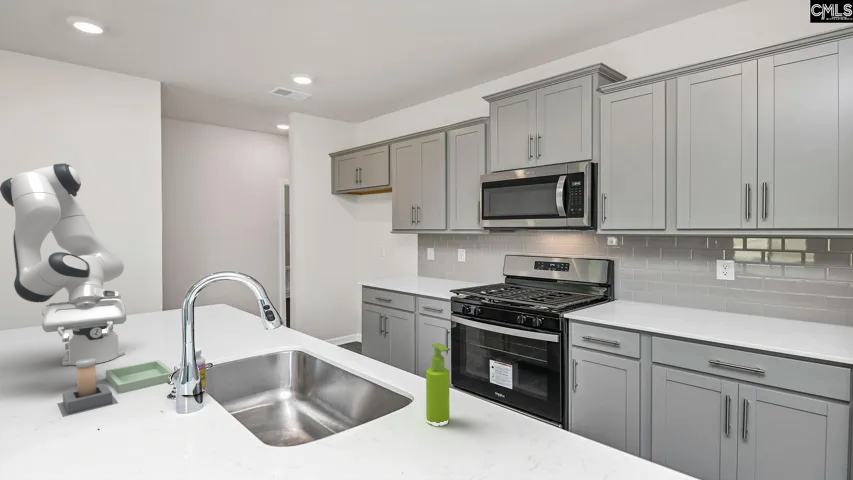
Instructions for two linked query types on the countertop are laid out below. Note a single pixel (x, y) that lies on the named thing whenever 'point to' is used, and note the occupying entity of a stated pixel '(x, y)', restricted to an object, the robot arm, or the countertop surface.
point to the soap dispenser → (437, 387)
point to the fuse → (86, 377)
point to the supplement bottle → (200, 366)
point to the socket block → (86, 401)
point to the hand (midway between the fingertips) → (85, 338)
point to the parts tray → (138, 376)
